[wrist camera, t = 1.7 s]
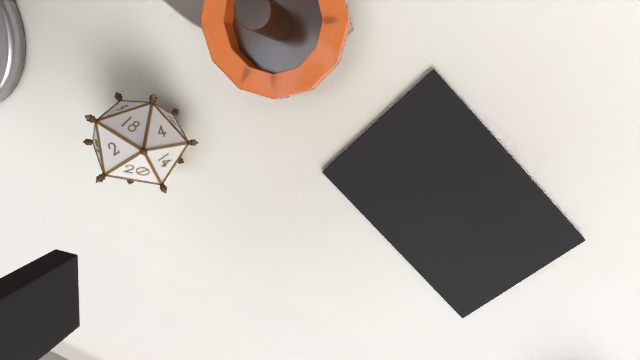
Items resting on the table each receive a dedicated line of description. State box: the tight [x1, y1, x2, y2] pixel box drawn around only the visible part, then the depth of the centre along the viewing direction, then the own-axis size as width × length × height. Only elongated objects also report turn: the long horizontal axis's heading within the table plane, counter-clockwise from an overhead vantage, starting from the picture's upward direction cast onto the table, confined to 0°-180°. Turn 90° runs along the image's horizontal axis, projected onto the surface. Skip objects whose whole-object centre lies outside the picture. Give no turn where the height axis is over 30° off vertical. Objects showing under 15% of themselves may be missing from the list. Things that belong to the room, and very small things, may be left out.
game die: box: [83, 92, 198, 193], centre depth 31 cm, size 9×8×10 cm
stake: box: [232, 0, 353, 99], centre depth 26 cm, size 8×8×9 cm
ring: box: [201, 0, 350, 99], centre depth 26 cm, size 11×11×2 cm
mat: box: [323, 70, 585, 318], centre depth 32 cm, size 20×13×1 cm, turn 45°
